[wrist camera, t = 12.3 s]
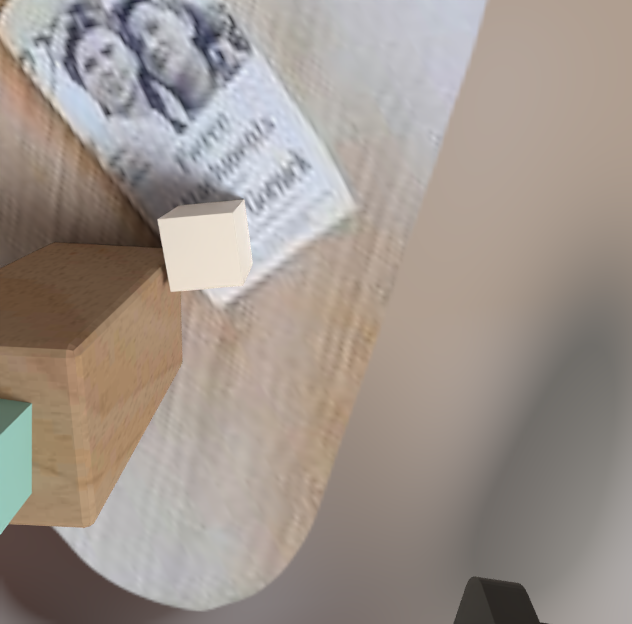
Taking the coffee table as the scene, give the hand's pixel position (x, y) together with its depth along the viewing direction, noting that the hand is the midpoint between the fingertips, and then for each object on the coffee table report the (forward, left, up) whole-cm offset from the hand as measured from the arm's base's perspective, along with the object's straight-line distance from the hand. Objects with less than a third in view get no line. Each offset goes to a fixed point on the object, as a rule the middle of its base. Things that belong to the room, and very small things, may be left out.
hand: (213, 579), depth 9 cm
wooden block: (+10, -13, -36) cm, 40 cm away
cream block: (+3, -6, -36) cm, 37 cm away
